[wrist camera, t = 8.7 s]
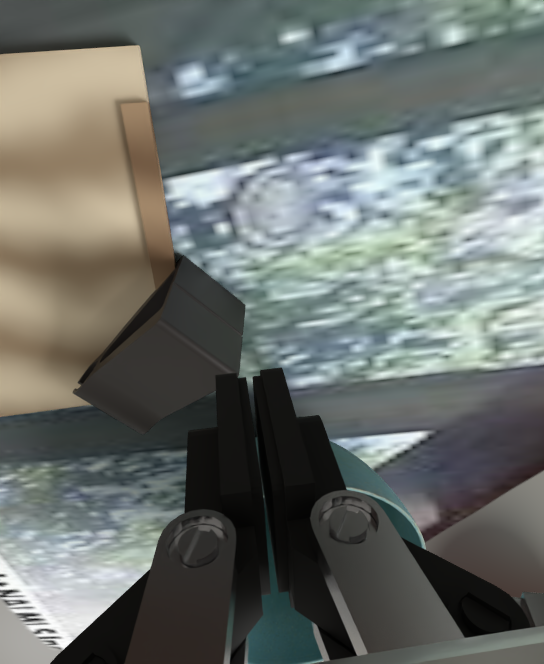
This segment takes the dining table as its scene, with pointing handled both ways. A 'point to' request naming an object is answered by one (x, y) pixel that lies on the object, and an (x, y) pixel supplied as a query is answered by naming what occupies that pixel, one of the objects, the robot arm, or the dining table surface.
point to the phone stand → (168, 350)
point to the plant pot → (278, 617)
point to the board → (74, 216)
